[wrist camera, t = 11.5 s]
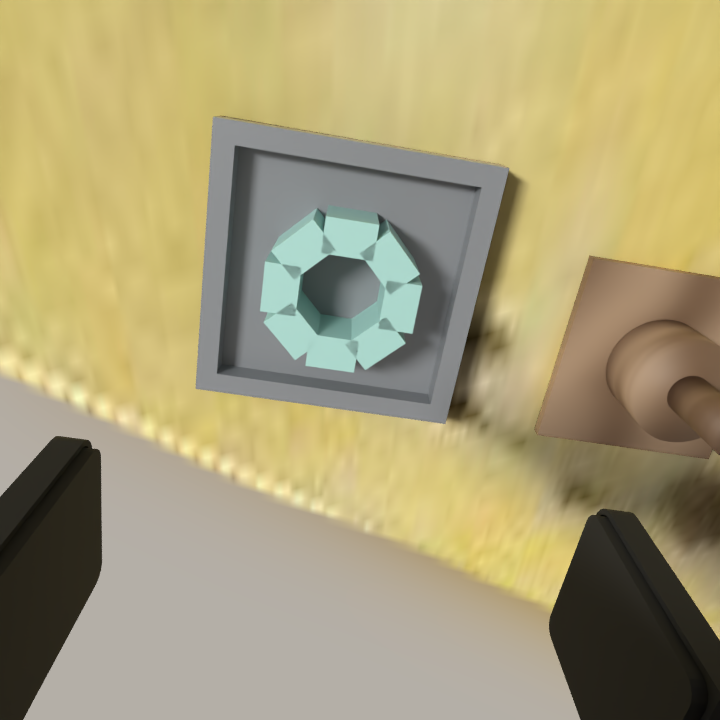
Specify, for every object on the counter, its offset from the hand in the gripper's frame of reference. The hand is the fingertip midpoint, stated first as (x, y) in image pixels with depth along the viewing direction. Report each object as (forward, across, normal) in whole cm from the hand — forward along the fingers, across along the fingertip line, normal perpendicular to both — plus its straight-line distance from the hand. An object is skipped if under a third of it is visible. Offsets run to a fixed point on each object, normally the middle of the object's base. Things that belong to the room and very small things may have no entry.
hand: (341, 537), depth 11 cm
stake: (+20, -17, +3) cm, 26 cm away
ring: (+20, 0, +1) cm, 20 cm away
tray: (+20, 0, 0) cm, 20 cm away
